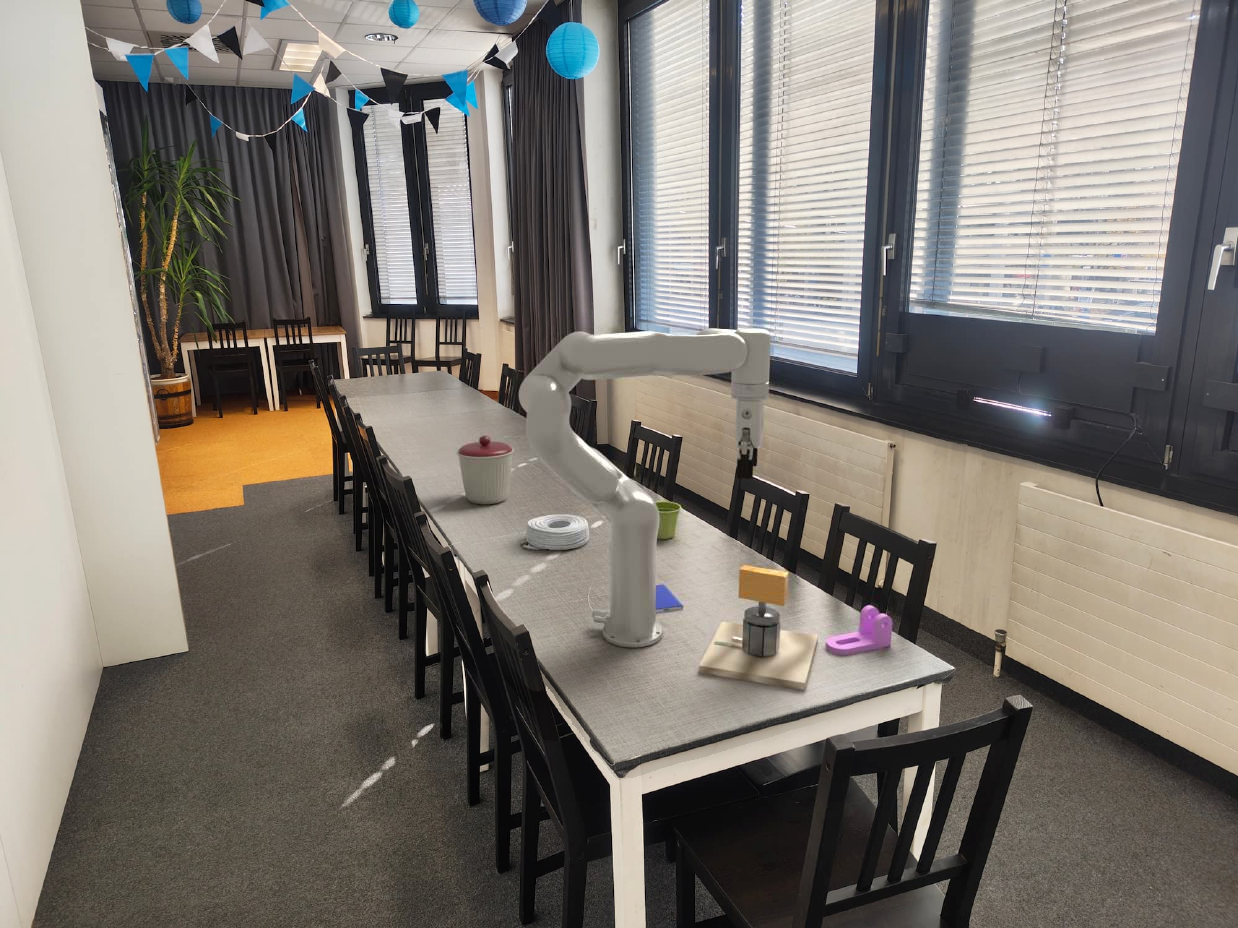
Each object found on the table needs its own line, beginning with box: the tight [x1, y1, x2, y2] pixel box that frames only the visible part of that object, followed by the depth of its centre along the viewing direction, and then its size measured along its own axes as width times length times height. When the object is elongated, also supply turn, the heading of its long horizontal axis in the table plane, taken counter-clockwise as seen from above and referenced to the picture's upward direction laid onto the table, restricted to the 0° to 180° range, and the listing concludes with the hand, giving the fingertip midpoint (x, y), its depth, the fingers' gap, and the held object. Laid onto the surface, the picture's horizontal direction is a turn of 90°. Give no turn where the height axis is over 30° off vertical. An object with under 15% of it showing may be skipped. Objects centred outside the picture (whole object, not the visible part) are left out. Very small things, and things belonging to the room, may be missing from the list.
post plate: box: [698, 621, 819, 691], centre depth 163 cm, size 20×20×8 cm
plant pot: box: [654, 500, 682, 540], centre depth 231 cm, size 9×9×9 cm
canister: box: [455, 435, 515, 505], centre depth 263 cm, size 18×18×21 cm
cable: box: [520, 514, 590, 551], centre depth 228 cm, size 18×18×6 cm
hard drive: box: [656, 583, 684, 614], centre depth 191 cm, size 2×8×12 cm
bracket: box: [825, 604, 893, 656], centre depth 168 cm, size 13×6×7 cm, turn 111°
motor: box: [732, 564, 790, 657], centre depth 162 cm, size 7×10×16 cm, turn 64°
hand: (747, 471), depth 172 cm, fingers open, 9 cm apart
